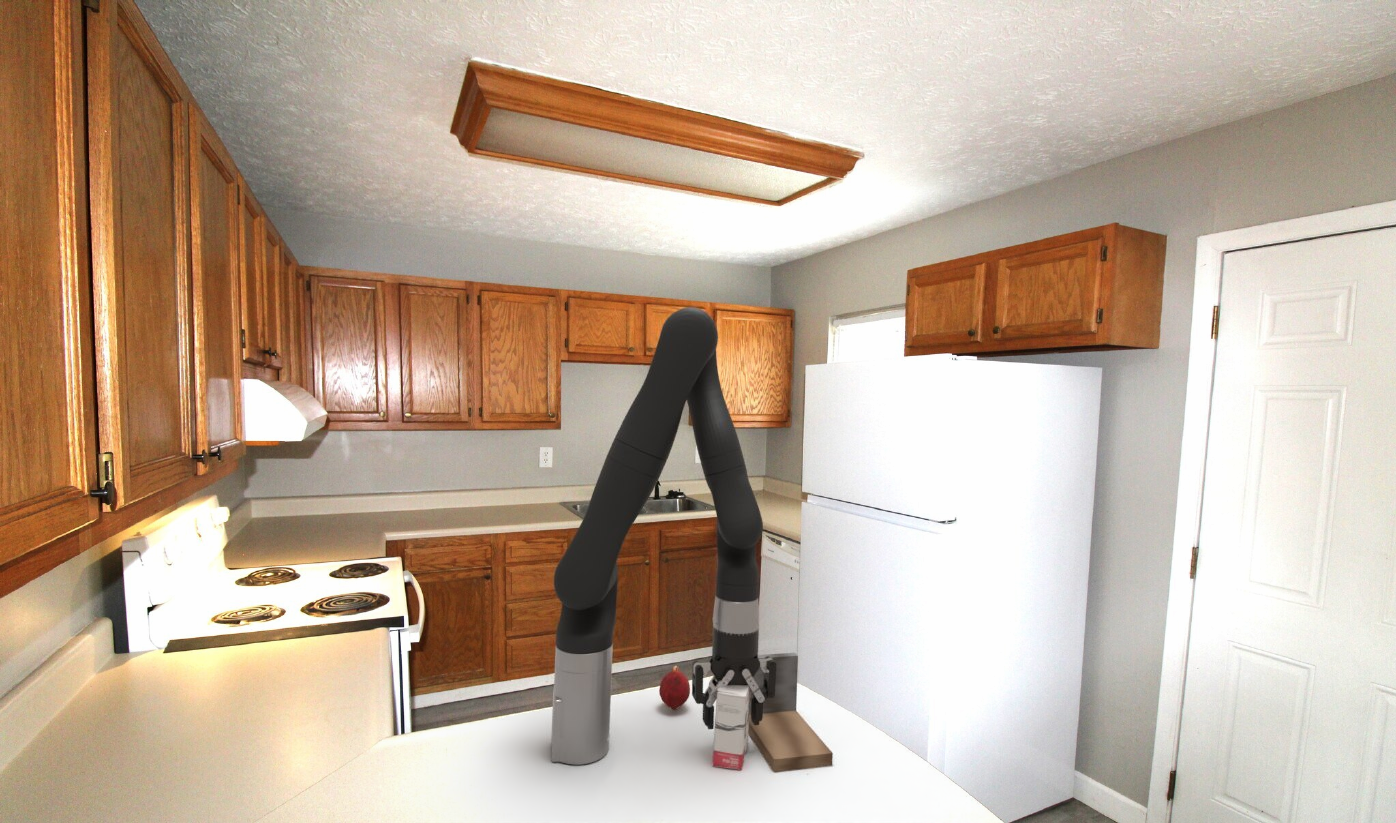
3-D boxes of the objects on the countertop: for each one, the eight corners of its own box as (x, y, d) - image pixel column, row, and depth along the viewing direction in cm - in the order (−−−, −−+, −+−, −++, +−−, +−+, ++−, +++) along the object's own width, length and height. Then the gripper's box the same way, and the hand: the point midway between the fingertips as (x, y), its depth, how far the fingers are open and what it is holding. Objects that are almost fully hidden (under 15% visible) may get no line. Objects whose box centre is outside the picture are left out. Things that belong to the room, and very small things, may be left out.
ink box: (743, 772, 95) (746, 695, 95) (711, 767, 96) (714, 691, 96) (750, 743, 104) (752, 673, 104) (720, 739, 105) (723, 669, 105)
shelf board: (773, 772, 95) (776, 694, 95) (741, 722, 111) (743, 655, 111) (832, 765, 98) (834, 690, 98) (792, 717, 113) (794, 652, 113)
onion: (688, 717, 112) (690, 673, 112) (657, 716, 112) (659, 672, 112) (689, 703, 118) (691, 661, 118) (659, 701, 118) (661, 660, 118)
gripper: (699, 634, 95) (695, 741, 95) (785, 629, 98) (782, 732, 98) (688, 618, 102) (684, 717, 102) (768, 614, 106) (765, 710, 105)
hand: (732, 724), depth 100 cm, fingers open, 7 cm apart
